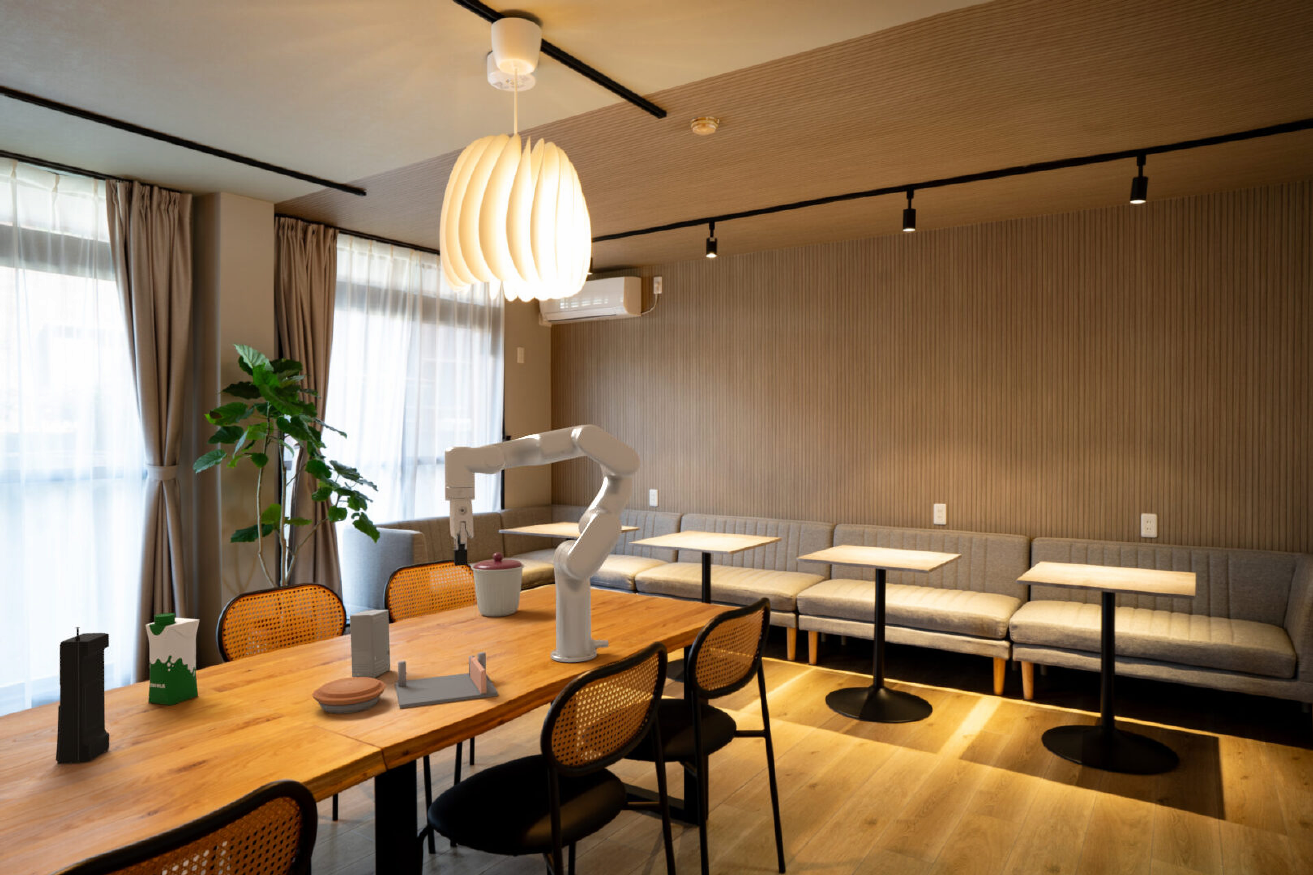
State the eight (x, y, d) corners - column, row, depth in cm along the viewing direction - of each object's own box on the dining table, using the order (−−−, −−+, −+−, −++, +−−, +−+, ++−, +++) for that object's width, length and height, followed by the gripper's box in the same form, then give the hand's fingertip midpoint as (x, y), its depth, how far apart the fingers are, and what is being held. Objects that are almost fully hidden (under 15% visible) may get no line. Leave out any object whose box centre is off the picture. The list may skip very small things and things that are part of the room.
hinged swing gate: (484, 674, 198) (484, 648, 198) (497, 695, 181) (497, 667, 181) (395, 684, 190) (394, 658, 190) (399, 708, 173) (399, 678, 173)
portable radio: (80, 748, 152) (80, 619, 152) (113, 746, 152) (112, 618, 153) (53, 764, 144) (52, 629, 144) (87, 763, 144) (86, 627, 145)
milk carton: (141, 703, 178) (140, 615, 179) (177, 691, 187) (176, 607, 187) (170, 707, 176) (169, 618, 176) (205, 694, 184) (204, 609, 184)
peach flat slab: (468, 675, 193) (468, 654, 193) (474, 674, 193) (474, 653, 194) (480, 693, 179) (480, 670, 179) (487, 692, 179) (486, 670, 179)
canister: (463, 618, 262) (462, 555, 262) (483, 607, 280) (483, 548, 280) (514, 620, 259) (513, 556, 259) (532, 608, 277) (531, 549, 277)
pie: (315, 722, 165) (315, 698, 165) (310, 701, 179) (309, 679, 179) (391, 709, 172) (391, 687, 173) (380, 690, 186) (380, 669, 186)
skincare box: (374, 679, 195) (373, 615, 195) (348, 677, 196) (347, 614, 197) (392, 669, 203) (391, 608, 203) (367, 668, 205) (366, 607, 205)
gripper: (479, 495, 197) (479, 568, 197) (470, 492, 211) (471, 560, 211) (448, 496, 194) (449, 570, 194) (441, 493, 208) (442, 562, 208)
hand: (460, 564), depth 203 cm, fingers closed
